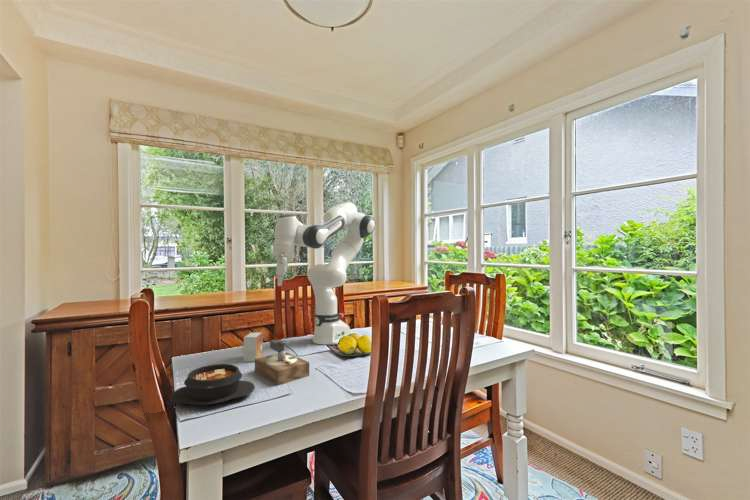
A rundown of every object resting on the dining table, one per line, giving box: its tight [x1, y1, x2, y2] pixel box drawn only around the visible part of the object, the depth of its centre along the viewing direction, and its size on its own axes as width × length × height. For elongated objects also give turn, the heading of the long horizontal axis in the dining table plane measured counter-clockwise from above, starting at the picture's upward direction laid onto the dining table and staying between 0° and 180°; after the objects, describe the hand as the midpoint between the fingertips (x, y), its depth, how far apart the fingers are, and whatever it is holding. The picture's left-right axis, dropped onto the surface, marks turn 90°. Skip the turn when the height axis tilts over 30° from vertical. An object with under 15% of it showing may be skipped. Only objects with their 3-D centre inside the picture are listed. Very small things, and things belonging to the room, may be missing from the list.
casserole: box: [169, 363, 255, 406], centre depth 112 cm, size 25×19×8 cm
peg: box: [269, 339, 291, 363], centre depth 132 cm, size 13×4×7 cm, turn 45°
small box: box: [243, 332, 264, 362], centre depth 149 cm, size 8×6×10 cm
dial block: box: [254, 351, 310, 386], centre depth 132 cm, size 13×18×5 cm
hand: (280, 284), depth 147 cm, fingers open, 8 cm apart
